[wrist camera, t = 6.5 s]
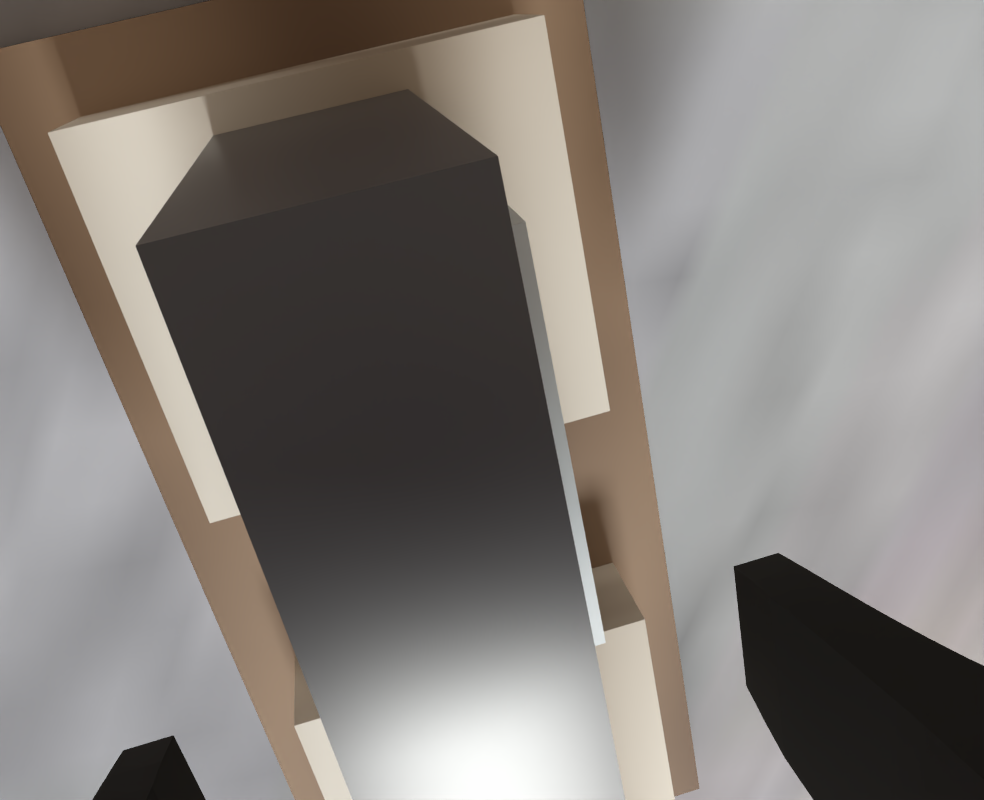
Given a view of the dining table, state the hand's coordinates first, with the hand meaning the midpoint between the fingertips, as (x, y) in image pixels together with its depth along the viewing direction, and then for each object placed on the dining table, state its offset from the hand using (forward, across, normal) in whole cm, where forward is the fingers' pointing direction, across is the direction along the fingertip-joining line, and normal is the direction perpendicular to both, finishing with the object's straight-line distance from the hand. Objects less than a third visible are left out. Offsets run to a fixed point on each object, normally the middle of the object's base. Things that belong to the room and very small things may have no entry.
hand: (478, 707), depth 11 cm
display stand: (+5, 0, 0) cm, 5 cm away
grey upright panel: (+3, 0, 0) cm, 3 cm away
